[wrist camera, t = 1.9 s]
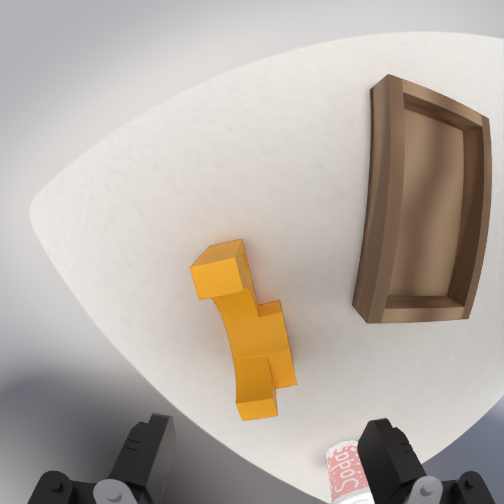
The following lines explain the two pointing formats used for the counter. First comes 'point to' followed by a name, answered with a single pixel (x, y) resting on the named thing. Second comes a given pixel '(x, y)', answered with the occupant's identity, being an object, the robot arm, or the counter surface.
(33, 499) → the robot arm
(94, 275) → the counter surface
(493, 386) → the counter surface
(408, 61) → the counter surface
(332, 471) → the beverage cup
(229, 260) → the pipe clamp
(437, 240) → the wooden tray
